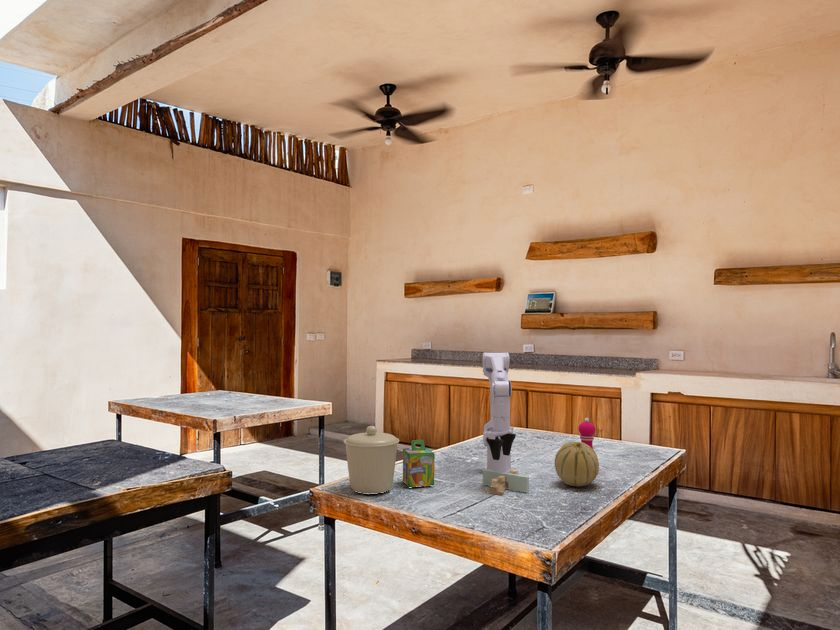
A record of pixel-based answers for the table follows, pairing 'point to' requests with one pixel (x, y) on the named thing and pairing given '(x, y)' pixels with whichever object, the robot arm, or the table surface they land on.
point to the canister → (371, 460)
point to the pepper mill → (587, 432)
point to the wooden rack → (500, 484)
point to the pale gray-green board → (507, 480)
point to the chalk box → (418, 465)
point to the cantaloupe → (576, 464)
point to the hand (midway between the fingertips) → (501, 457)
